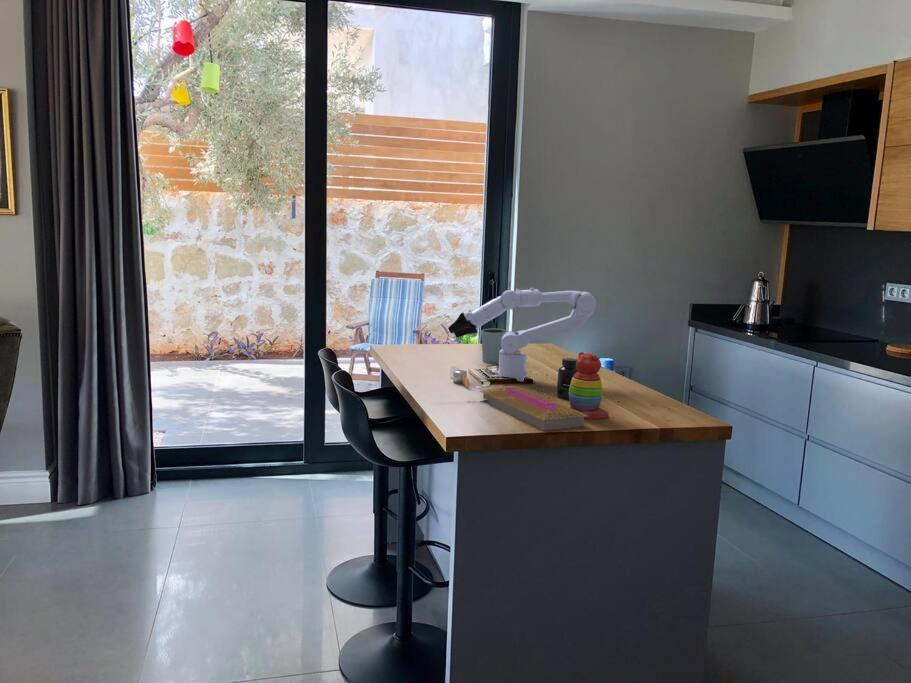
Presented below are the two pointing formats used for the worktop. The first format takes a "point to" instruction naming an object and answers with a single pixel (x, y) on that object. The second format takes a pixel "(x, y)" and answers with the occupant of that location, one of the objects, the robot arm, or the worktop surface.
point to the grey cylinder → (491, 344)
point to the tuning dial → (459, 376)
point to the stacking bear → (587, 387)
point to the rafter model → (520, 399)
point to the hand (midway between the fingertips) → (452, 332)
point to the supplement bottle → (565, 377)
